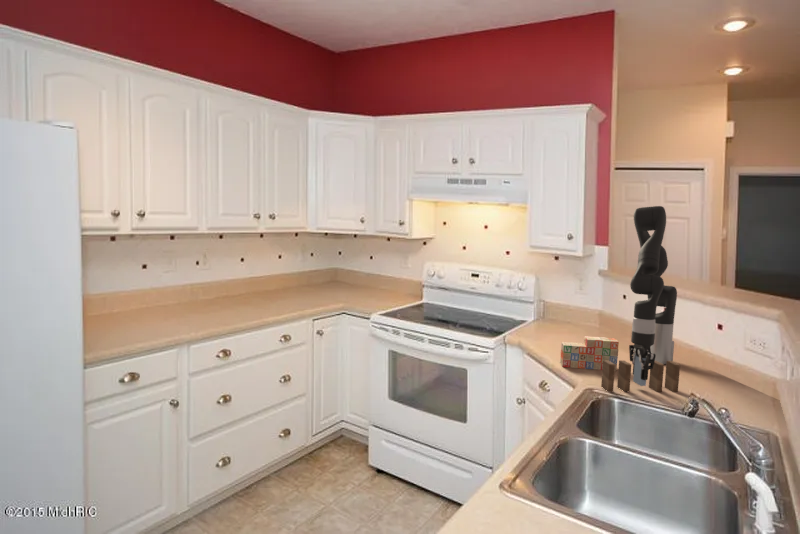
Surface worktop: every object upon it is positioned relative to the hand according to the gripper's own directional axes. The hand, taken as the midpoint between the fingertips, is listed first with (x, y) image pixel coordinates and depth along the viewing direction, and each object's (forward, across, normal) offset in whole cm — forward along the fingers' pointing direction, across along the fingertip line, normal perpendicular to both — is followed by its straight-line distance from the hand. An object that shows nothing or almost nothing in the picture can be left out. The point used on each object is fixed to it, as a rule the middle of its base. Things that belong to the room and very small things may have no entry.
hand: (639, 377), depth 190 cm
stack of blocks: (+5, +28, +6) cm, 30 cm away
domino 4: (+5, 0, -12) cm, 13 cm away
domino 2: (+2, 0, 0) cm, 2 cm away
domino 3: (+5, 0, -6) cm, 8 cm away
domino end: (+5, 0, +12) cm, 13 cm away
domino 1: (+5, 0, +6) cm, 8 cm away
